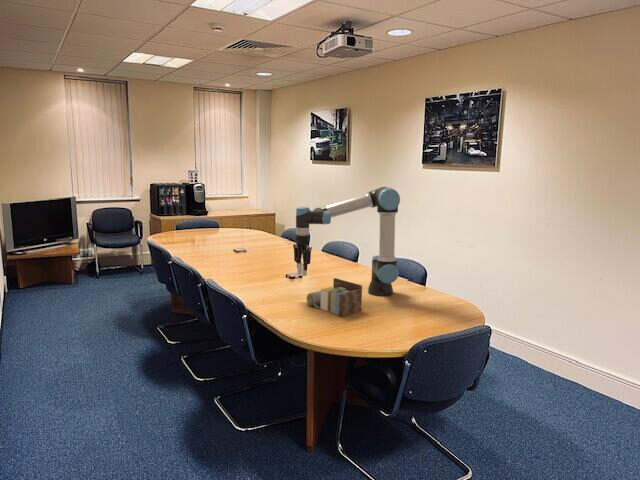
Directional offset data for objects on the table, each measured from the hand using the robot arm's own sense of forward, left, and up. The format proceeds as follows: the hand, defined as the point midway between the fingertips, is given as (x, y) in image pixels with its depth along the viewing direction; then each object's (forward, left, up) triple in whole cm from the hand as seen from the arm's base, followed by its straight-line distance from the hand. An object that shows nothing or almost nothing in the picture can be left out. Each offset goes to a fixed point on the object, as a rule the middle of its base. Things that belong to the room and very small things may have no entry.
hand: (302, 275), depth 269 cm
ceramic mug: (+1, +14, -15) cm, 20 cm away
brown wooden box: (-3, +26, -15) cm, 30 cm away
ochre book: (0, +22, -15) cm, 26 cm away
